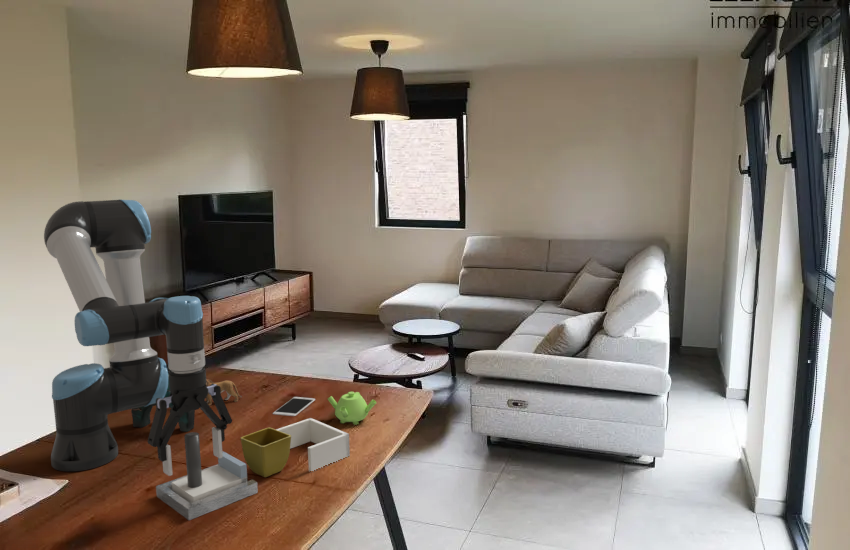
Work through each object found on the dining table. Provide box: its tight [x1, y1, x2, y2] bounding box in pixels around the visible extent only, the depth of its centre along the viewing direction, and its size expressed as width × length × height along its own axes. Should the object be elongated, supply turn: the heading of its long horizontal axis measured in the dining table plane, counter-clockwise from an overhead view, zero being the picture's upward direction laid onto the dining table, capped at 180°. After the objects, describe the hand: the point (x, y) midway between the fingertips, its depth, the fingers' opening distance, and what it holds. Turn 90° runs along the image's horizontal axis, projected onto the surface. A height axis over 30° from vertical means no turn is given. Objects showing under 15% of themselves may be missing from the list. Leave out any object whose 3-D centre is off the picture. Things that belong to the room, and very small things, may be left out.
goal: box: [275, 417, 351, 472], centre depth 172 cm, size 12×16×6 cm
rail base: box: [155, 463, 259, 521], centre depth 152 cm, size 16×15×2 cm
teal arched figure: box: [130, 371, 196, 433], centre depth 190 cm, size 20×6×20 cm, turn 76°
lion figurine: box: [205, 378, 243, 407], centre depth 210 cm, size 15×5×9 cm, turn 120°
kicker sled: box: [172, 431, 248, 503], centre depth 151 cm, size 13×10×15 cm
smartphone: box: [272, 396, 316, 417], centre depth 207 cm, size 8×1×15 cm
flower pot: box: [240, 426, 291, 478], centre depth 162 cm, size 9×9×9 cm
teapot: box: [327, 391, 377, 426], centre depth 194 cm, size 11×12×8 cm
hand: (193, 464), depth 149 cm, fingers open, 11 cm apart
